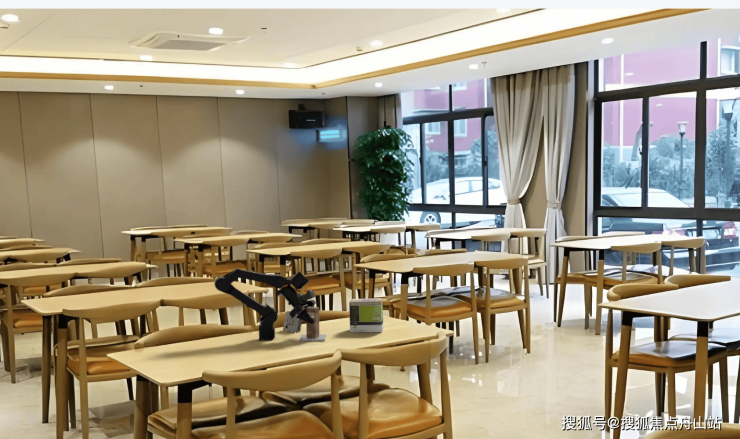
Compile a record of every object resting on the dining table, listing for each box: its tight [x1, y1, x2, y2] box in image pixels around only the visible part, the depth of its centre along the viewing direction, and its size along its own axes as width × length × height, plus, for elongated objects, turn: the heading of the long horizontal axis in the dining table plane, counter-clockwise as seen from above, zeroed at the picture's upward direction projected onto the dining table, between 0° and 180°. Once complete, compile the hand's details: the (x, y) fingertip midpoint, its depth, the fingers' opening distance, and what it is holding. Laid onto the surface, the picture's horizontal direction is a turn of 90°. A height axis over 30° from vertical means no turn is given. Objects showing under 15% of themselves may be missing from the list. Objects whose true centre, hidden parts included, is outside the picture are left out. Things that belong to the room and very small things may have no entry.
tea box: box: [348, 297, 384, 333], centre depth 337 cm, size 15×10×15 cm
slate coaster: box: [299, 333, 327, 343], centre depth 321 cm, size 11×11×1 cm
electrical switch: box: [282, 310, 303, 333], centre depth 340 cm, size 9×5×9 cm, turn 46°
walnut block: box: [305, 306, 320, 338], centre depth 321 cm, size 4×5×13 cm
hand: (315, 322), depth 320 cm, fingers closed on walnut block, 5 cm apart
